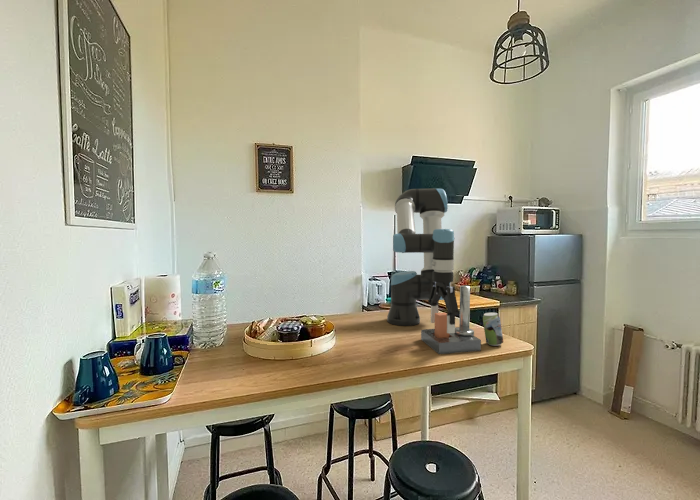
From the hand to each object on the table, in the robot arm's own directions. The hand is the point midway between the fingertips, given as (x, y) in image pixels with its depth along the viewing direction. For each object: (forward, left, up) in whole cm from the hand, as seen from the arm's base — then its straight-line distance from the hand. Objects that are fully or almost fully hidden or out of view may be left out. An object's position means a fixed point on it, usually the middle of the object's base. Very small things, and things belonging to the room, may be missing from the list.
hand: (442, 327), depth 130 cm
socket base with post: (0, +3, -7) cm, 8 cm away
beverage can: (+3, +19, -7) cm, 21 cm away
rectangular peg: (0, 0, -7) cm, 7 cm away
